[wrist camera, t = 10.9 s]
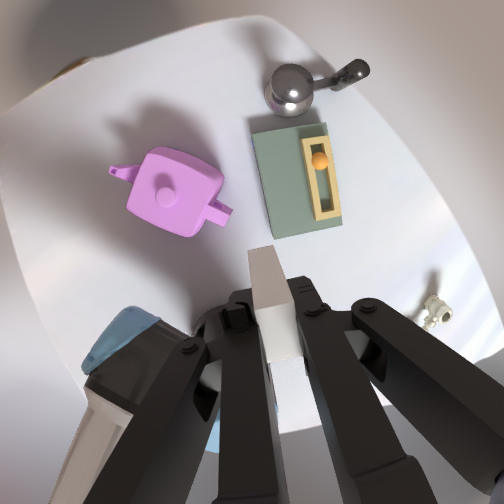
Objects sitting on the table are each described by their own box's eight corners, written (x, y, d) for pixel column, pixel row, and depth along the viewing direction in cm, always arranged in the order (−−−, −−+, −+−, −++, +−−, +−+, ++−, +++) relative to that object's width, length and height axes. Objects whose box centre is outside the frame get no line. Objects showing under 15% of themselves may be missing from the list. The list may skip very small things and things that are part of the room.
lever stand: (337, 221, 46) (348, 229, 41) (272, 235, 46) (276, 245, 41) (321, 123, 40) (331, 120, 35) (251, 135, 40) (253, 133, 36)
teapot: (117, 194, 42) (89, 206, 33) (142, 133, 39) (116, 129, 30) (216, 239, 46) (211, 263, 36) (246, 179, 43) (248, 187, 33)
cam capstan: (272, 123, 40) (284, 114, 30) (256, 82, 37) (263, 61, 27) (348, 103, 39) (378, 91, 29) (333, 63, 36) (359, 43, 26)
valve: (426, 289, 52) (396, 334, 55) (443, 303, 45) (410, 352, 49) (443, 298, 53) (414, 341, 56) (459, 312, 47) (427, 357, 50)
